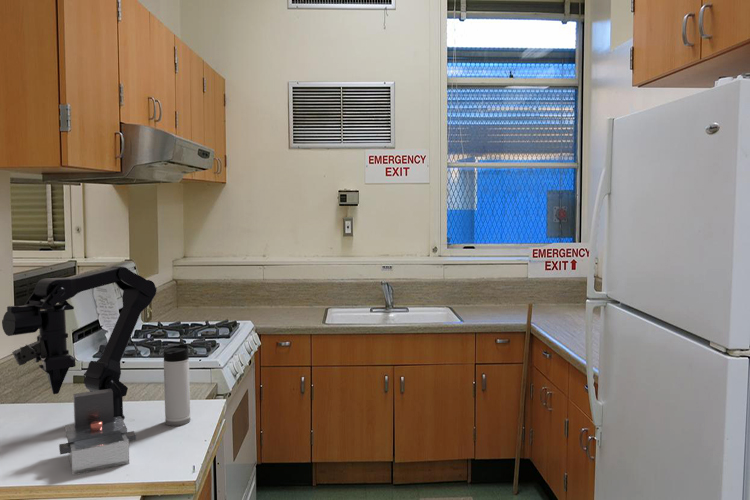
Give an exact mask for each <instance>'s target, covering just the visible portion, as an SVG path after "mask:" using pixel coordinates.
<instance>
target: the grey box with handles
mask: <svg viewBox="0 0 750 500" xmlns="http://www.w3.org/2000/svg"><path fill="white" fill-rule="evenodd" d="M133 441H137V434H136V433H135V431H134V430H133V431H132V430H131V431H127V432H125V433H120V434H114V435H109V436H103V437H98V438H92V439H87V440H81V441H75V442H70V443H68V442H64V443H60V444H58V446H59V454H60V455H64V454H68V455H69V456H68V457H69V458H68V459H69V463H70V468H71V474H72V476H75V475H80V474H84V473H85V474H86V473H90V472H93V471H94V472H95V471H99V470H104V469H105V470H106V469H109V468H113V467H119V466H123V465H128V464H130V443H129V442H133Z"/></svg>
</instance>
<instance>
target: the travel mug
mask: <svg viewBox="0 0 750 500" xmlns="http://www.w3.org/2000/svg"><path fill="white" fill-rule="evenodd" d="M189 354H190V353H189V346H188V345H187V344H186V343H185V344H184V343H179V344H177V345H171V346H168V347H166V348H164V349H163V378H164V379H163V383H164V385H163V387H164V388H163V390H164V422H165V424H166V426H167V425H168V426H171V427H172V426H173V427H176V426H184V425H186V424H188V423H189V422H190V421H191V392H190V391H191V390H190V388H191V387H190V359H189Z"/></svg>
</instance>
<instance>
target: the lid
mask: <svg viewBox="0 0 750 500" xmlns="http://www.w3.org/2000/svg"><path fill="white" fill-rule="evenodd" d="M73 419H74V420H73V422H74V423H72V424H66V425H64V426H65V427H64V428H65V430H64V431H65V435H66V439H67V443H70V442H75V441H81V440H87V439H92V438H98V437H103V436H109V435H114V434H120V433H125V432H128V427H127V426H126V424H125V422H124V419H122V417H121V416H119V417H114V410H113V391H112V389H105V390H98V391H91V392H90V391H83V392H79V393H73Z"/></svg>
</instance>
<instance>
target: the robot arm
mask: <svg viewBox="0 0 750 500" xmlns="http://www.w3.org/2000/svg"><path fill="white" fill-rule="evenodd" d="M110 284H111V285H112V284H115V285H116V286H117V287H118V288H119V289H120V290H122V295H121V297H122V299H121V300H122V309H121V311H120V313H119V316H118V317H117V320H116V323H115V324H114V327H113V330H112V332H111V334H110V336H109V339H108V342H107V343H106V346H105V348H104V350H103V353H102V354H101V356H100V357H99V358H98V359H97V360H96V361H95V360H90V361H89V363H88V367H87V369H86V370H85V372H84V373H83V376H84V378H83V379H84V380H83V384H84V386H85V388H86V389H87V390H88V392H91V391H98V390H105V389H112V391H113V410H114V417H119V416H121V417H122V419H123V420H124V419H125V418H126V417H125V415H124V406H123V405H124V403H123V400H124V399H123V397H126V396H127V393H128V386H126V385H125V384H124V383H122V381H120V379H121V376H122V368H121V362H122V359H123V356H124V353H125V351H126V349H127V348H128V347H127V346H128V344H129V343H130V342H129V341H130V339H131V337H132V335H133V332H134V330H135V327H136V325H137V323H138V320H139V318H140V315H141V313H142V312H143V311H144V310H145V309H147V308H148V307H149V306H150V305H151V303H152V301H153V299H154V298H155V296H156V294H157V292H158V291H157V290H158V289H157V287H156V284H155V283H154V282H153V281H152V280H150V279H146V278H144V277H143V276H141V275H139V274H137V273H135V272H133V271H131V270H130V269H129V268H127V267H125V266H121V265H120V266H117V265H115V266H114V265H112V266H111V267H109V268H104V269H100V270H96V271H92V272H87V273H84V274H80V275H77V276H76V275H75V276H71V277H50V278H46V277H45V278H42V279H39V280H38V281H37V283H36V285H35V287H34V289H33V292H32V293H31V295H30V296H29V297H28V299H27V300H26V301H25V303H24V305H8V306H7V307H6V312H5V313H4V315H3V317H2V318H3V319H2V320H1V325H2V330H3V332H4V334H5V335H6V336H7V337H12V336H18V335H19V336H20V335H26V334H33V333H36V332H37V331H39V332H38V333H39V334H38V335H37V336H36V341H33V342H31V343H28V344H25V345H24V346H20V347H19V348H17V349H15V350H13V351H12V352H11V353H12V355H13V358H14V359H15V361H16V364H17V365H19V366H23V365H25V364H27V363H28V362H30V361H31V360H32V361H33V360H34V362H35V363H39V362H40V361H41V362H42V363H41V364H39V365H38V367H39V368H40V369H41V370H42V371H44V372H45V373H46V375H47V378H48V382H49V385H50V389H51V392H52V394H53V395H57V394H59V392H60V391H61V387H62V386H63V384H64V383H63V382H64V381H65V378H66V376H67V374H68V372H69V369H70V368H76V365H77V364H76V358H75V357H74V356H72V355H71V354H70V353H69V352H70V351H69V349H68V344H67V343H68V342H67V339H68V338H69V334H68V332H67V323H66V311H71V310H74V309H75V306H74V305H72V304H70V303H69V302H68V300H71V298H74V297H75V296H76V295H78V294H79V293H81V292H84V291H88V290H92V289H95V288H100V287H103V286H107V285H110Z"/></svg>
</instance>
